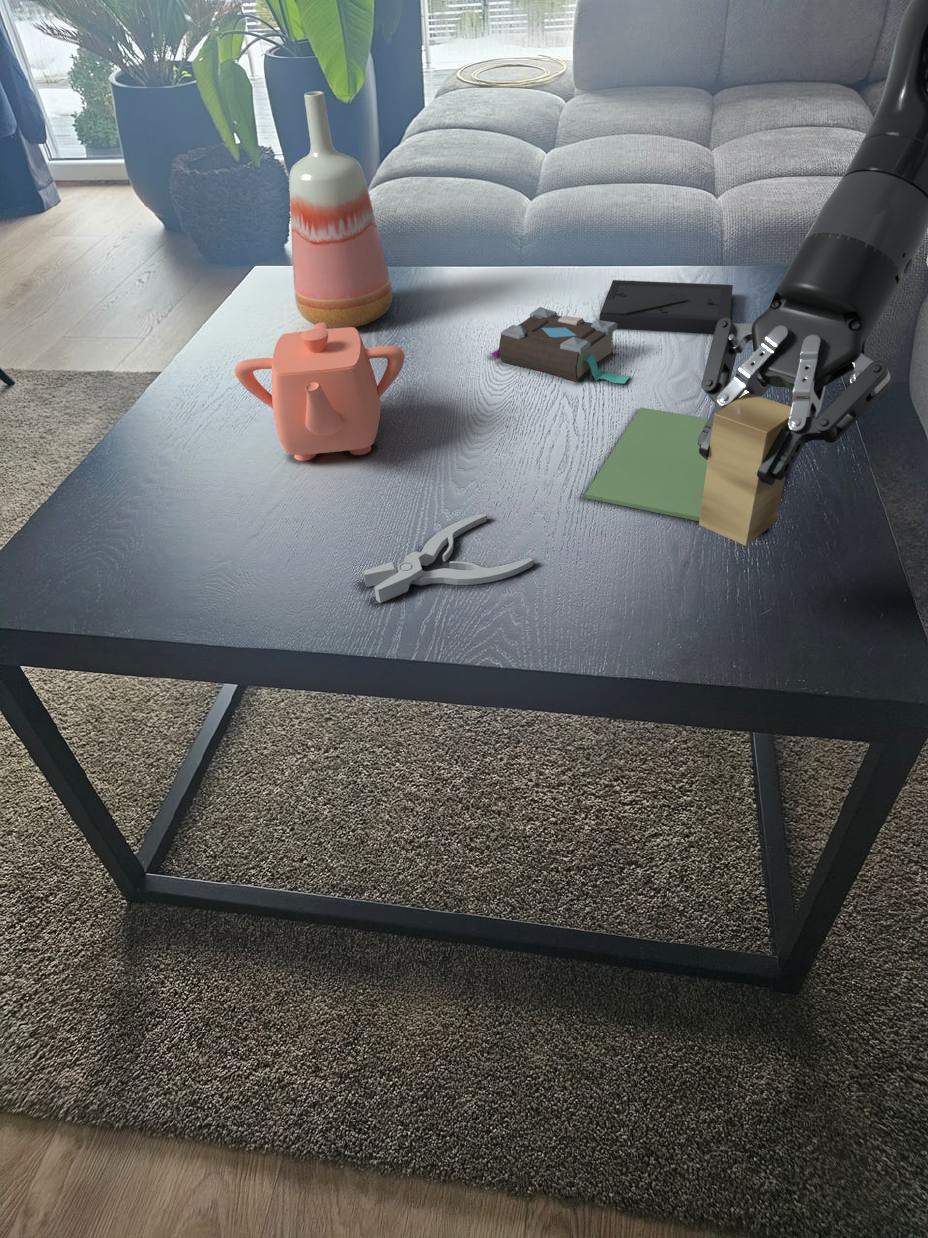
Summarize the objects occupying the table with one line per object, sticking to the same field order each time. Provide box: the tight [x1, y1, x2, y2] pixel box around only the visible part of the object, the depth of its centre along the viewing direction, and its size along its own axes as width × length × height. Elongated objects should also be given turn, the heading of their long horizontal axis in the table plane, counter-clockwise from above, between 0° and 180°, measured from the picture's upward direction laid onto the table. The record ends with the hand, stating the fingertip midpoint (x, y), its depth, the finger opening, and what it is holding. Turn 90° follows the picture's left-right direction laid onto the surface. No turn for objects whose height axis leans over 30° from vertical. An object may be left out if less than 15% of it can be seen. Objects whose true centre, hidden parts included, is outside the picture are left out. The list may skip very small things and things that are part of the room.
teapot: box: [234, 323, 405, 462], centre depth 98 cm, size 17×16×13 cm
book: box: [490, 306, 630, 384], centre depth 114 cm, size 20×12×5 cm, turn 54°
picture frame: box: [598, 279, 734, 334], centre depth 124 cm, size 13×2×18 cm
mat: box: [584, 407, 709, 522], centre depth 93 cm, size 18×20×1 cm
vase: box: [288, 90, 393, 329], centre depth 121 cm, size 14×14×30 cm
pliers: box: [363, 512, 534, 604], centre depth 82 cm, size 10×2×15 cm
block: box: [698, 393, 792, 547], centre depth 66 cm, size 4×4×10 cm
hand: (735, 467), depth 64 cm, fingers closed on block, 4 cm apart
